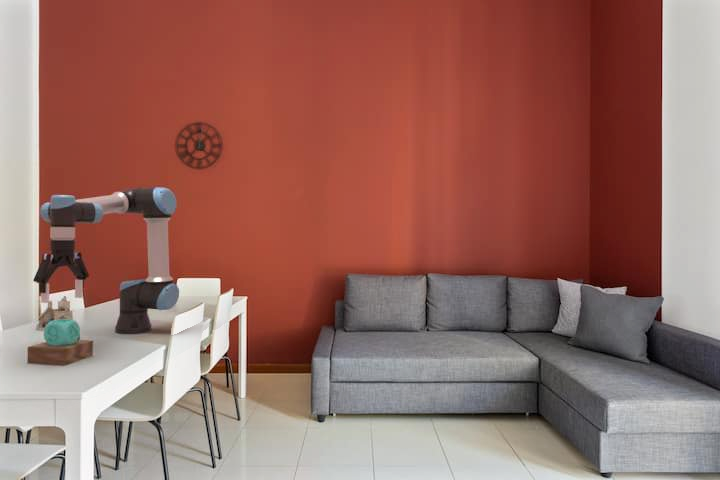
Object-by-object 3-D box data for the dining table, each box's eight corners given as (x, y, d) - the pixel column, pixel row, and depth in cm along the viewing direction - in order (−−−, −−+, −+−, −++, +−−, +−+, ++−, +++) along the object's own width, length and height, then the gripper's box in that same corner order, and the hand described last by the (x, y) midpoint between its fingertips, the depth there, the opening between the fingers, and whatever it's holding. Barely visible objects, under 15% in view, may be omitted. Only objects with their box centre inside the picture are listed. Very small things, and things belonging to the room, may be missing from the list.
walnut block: (58, 355, 187) (58, 338, 187) (92, 357, 185) (92, 340, 185) (27, 364, 173) (27, 347, 173) (64, 367, 171) (64, 349, 171)
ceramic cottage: (39, 326, 238) (40, 294, 237) (78, 326, 243) (80, 295, 242) (29, 335, 223) (30, 301, 222) (71, 334, 228) (73, 301, 227)
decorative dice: (80, 341, 182) (80, 319, 182) (65, 346, 174) (65, 323, 174) (59, 340, 183) (59, 318, 183) (43, 345, 175) (43, 322, 175)
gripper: (83, 238, 191) (83, 295, 192) (21, 239, 168) (20, 304, 168) (99, 239, 189) (99, 296, 190) (38, 240, 165) (38, 305, 166)
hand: (62, 300), depth 179 cm, fingers open, 13 cm apart
